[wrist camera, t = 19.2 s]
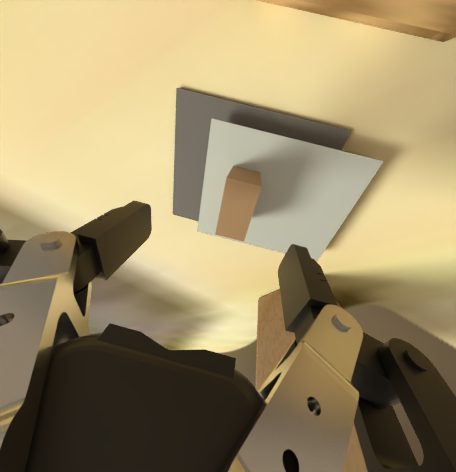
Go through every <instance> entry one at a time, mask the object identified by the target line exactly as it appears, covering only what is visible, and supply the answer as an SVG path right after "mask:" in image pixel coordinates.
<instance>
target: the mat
mask: <svg viewBox="0 0 456 472" xmlns="http://www.w3.org/2000/svg"><path fill="white" fill-rule="evenodd" d="M211 118H212V119H216V120H220V121H224V122H228V123H232V124H236V125H240V126H244V127H248V128H252V129H256V130H260V131H264V132H268V133H272V134H276V135H280V136H284V137H288V138H292V139H296V140H300V141H304V142H308V143H312V144H316V145H320V146H324V147H328V148H333V149H337V150H342V148H343V146H344V144H345V142H346V140H347V139H348V137H349V135H350V133H351V130H347V129H343V128H339V127H335V126H331V125H327V124H322V123H318V122H314V121H310V120H306V119H302V118H298V117H294V116H290V115H286V114H282V113H278V112H274V111H270V110H266V109H262V108H257V107H253V106H249V105H245V104H241V103H237V102H233V101H229V100H225V99H221V98H217V97H213V96H209V95H205V94H201V93H197V92H192V91H188V90H184V89H180V88H177V93H176V126H175V159H174V193H173V214H174V215H177V216H181V217H185V218H188V219H192V220H196V221H199V214H200V206H201V198H202V190H203V182H204V174H205V166H206V158H207V150H208V142H209V134H210V126H211Z"/></svg>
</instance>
